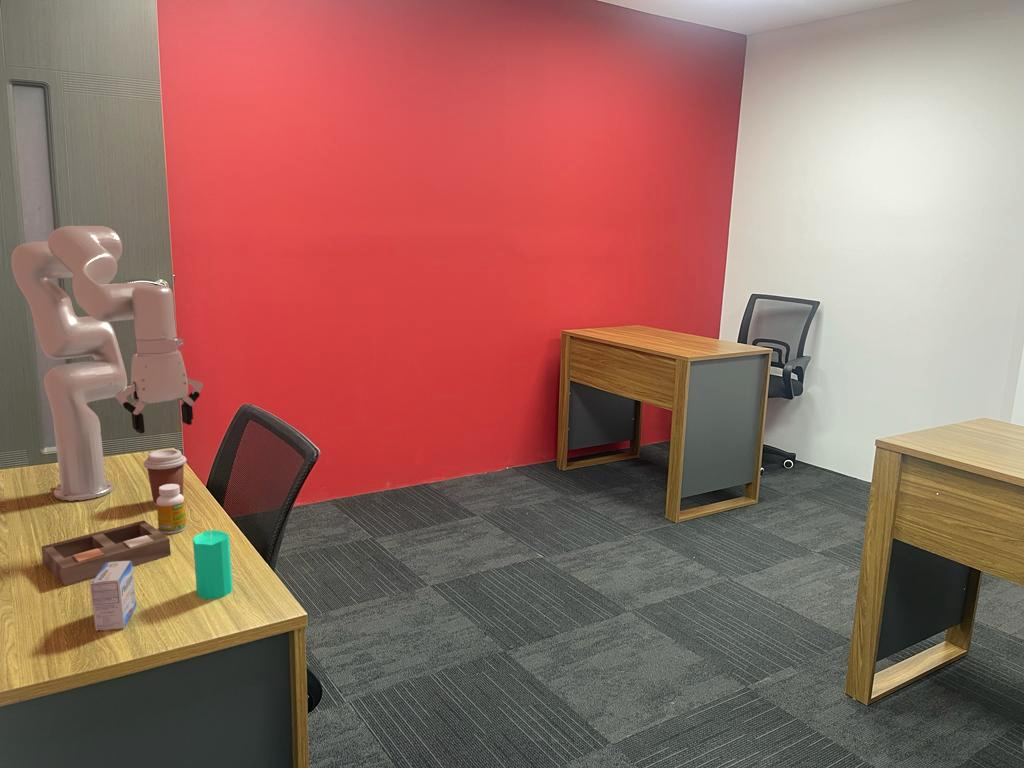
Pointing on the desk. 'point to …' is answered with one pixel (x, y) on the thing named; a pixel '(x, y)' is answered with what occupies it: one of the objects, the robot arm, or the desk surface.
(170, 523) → the supplement bottle
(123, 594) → the medicine box
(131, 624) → the desk surface
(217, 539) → the candle
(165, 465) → the coffee cup
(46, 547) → the socket block
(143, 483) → the desk surface
